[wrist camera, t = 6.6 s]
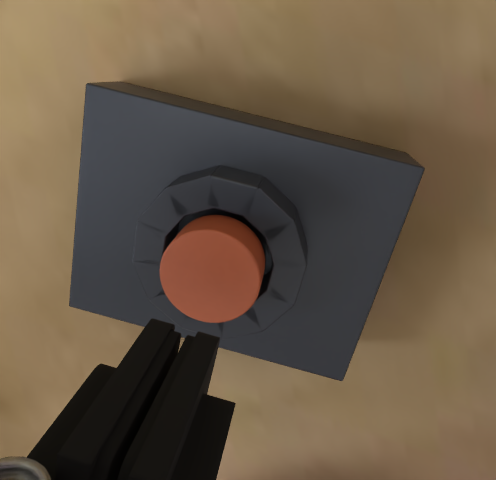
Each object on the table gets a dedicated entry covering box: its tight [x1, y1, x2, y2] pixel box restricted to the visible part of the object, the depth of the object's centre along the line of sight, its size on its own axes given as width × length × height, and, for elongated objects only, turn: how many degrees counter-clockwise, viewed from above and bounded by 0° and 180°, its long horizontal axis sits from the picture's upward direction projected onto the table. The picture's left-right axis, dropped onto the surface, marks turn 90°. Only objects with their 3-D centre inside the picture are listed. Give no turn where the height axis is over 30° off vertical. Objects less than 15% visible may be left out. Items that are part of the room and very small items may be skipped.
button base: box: [69, 82, 424, 381], centre depth 19 cm, size 13×10×5 cm
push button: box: [160, 215, 265, 323], centre depth 16 cm, size 4×4×2 cm
